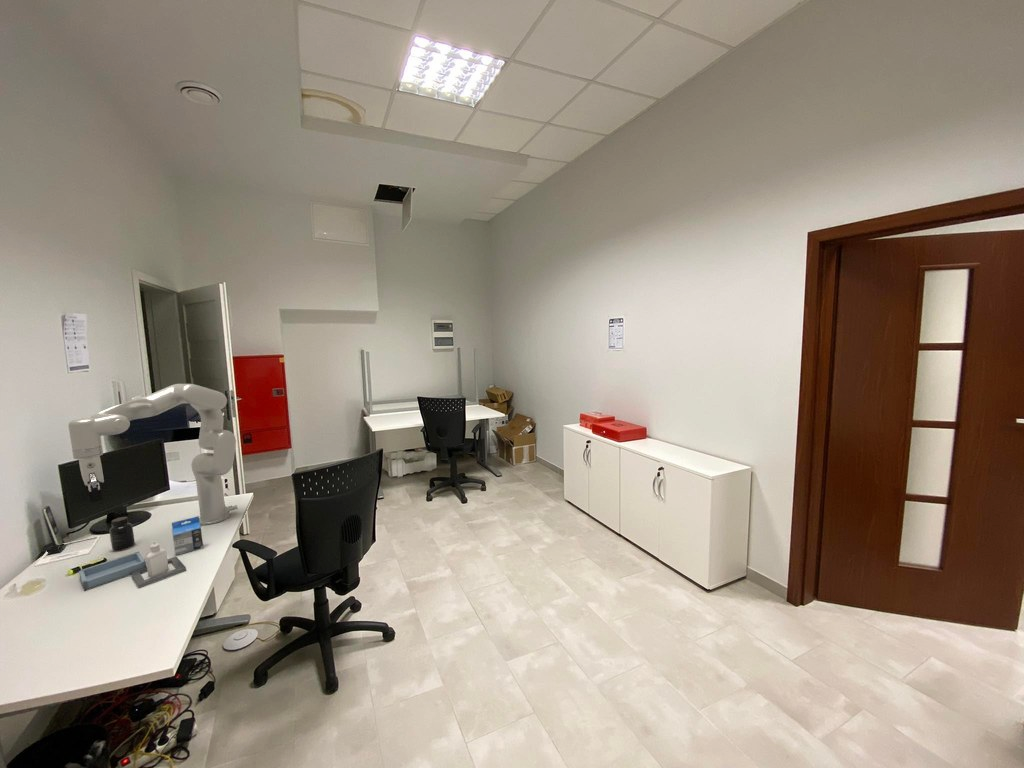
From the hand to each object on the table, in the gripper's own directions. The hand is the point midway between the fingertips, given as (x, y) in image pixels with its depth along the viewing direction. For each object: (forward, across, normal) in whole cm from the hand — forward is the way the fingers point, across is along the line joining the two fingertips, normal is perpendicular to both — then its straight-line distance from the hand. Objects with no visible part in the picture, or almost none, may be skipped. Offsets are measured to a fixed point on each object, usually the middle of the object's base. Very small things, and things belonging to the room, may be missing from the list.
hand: (94, 498), depth 149 cm
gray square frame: (+27, -22, -12) cm, 36 cm away
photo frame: (+27, +30, +8) cm, 41 cm away
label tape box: (+27, -10, -23) cm, 37 cm away
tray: (+27, -9, -2) cm, 28 cm away
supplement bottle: (+27, +15, -7) cm, 32 cm away
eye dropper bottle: (+27, -22, -12) cm, 37 cm away
